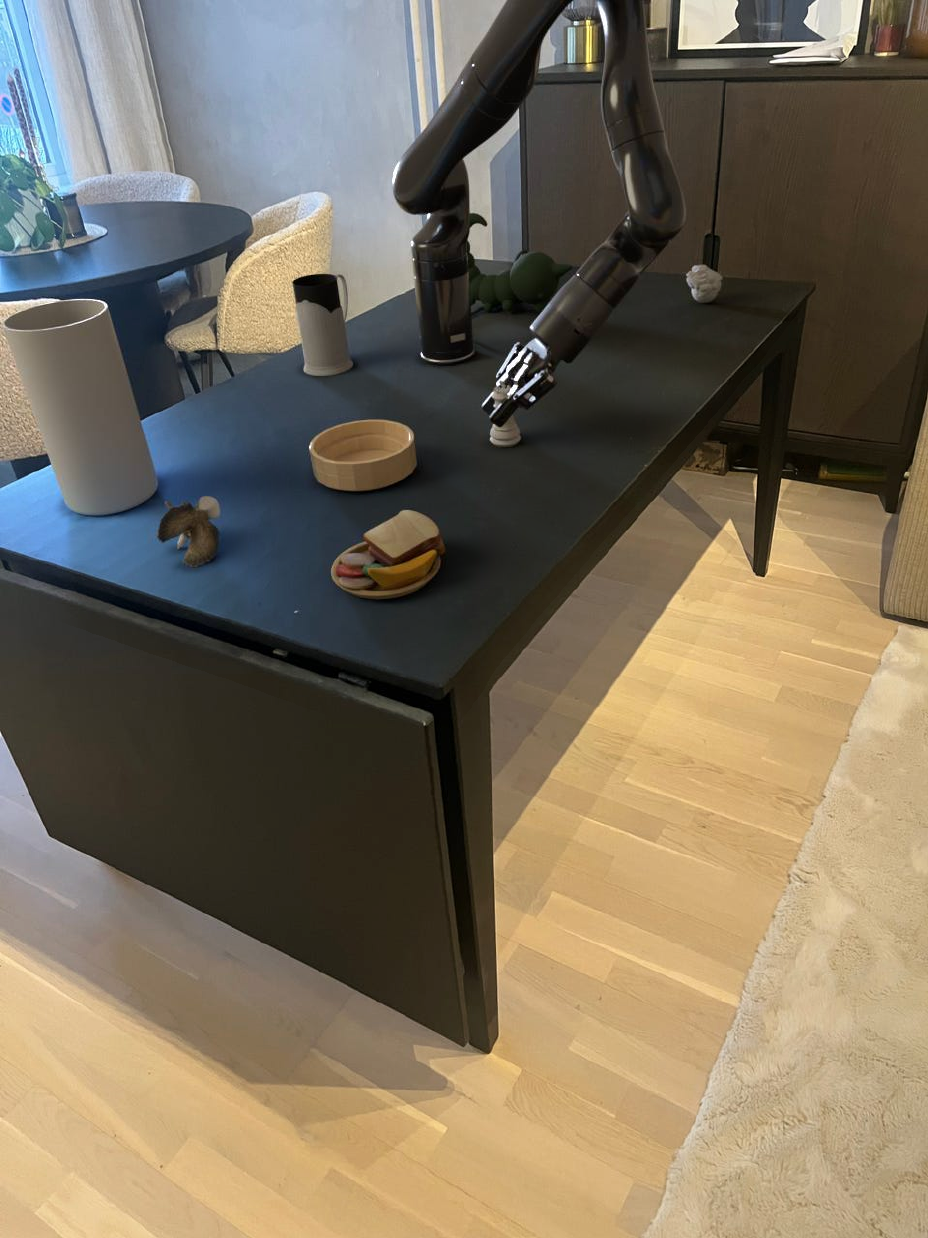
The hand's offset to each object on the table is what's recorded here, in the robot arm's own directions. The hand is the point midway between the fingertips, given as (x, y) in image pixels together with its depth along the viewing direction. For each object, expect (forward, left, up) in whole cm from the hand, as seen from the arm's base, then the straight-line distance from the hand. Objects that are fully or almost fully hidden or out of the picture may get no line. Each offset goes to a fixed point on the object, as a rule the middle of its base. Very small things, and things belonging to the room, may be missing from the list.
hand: (490, 417), depth 132 cm
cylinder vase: (+5, -53, -4) cm, 53 cm away
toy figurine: (-61, +10, -4) cm, 62 cm away
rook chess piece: (0, +2, -4) cm, 5 cm away
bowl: (+5, -18, -4) cm, 19 cm away
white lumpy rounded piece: (-54, +46, -4) cm, 71 cm away
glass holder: (-41, -24, -4) cm, 48 cm away
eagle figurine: (+22, -39, -4) cm, 45 cm away
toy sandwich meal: (+32, -15, -4) cm, 35 cm away
